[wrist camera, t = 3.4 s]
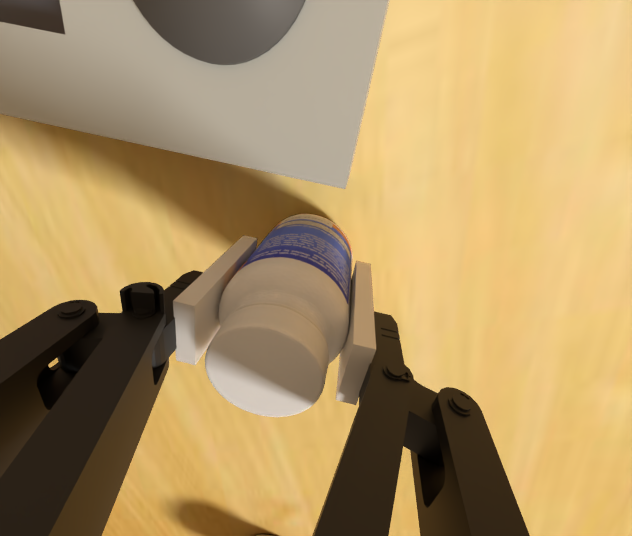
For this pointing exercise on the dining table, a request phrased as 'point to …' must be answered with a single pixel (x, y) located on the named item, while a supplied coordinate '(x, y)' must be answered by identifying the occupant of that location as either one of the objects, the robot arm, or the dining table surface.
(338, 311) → the pill bottle
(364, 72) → the grey recessed tray
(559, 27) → the dining table surface
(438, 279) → the dining table surface
